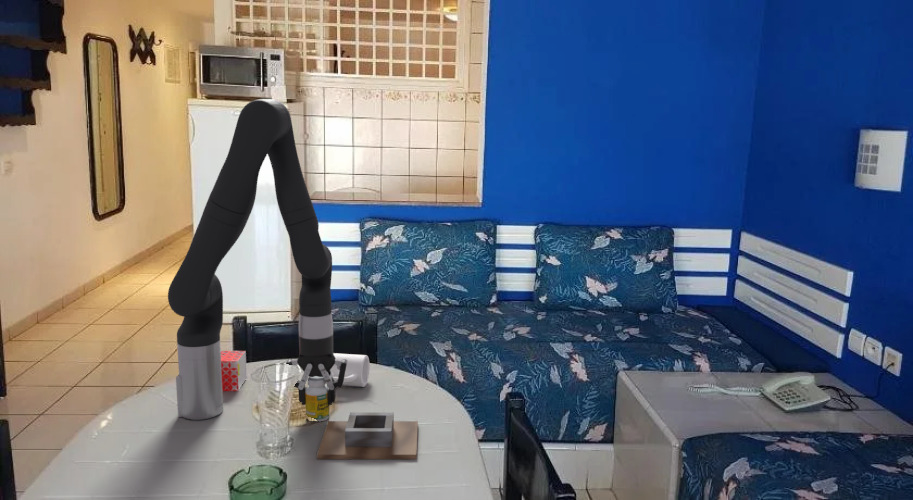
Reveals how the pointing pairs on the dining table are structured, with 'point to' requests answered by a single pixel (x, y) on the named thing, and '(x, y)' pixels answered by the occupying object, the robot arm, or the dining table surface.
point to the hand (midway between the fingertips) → (317, 403)
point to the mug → (353, 369)
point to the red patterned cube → (233, 369)
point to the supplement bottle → (317, 399)
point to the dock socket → (369, 438)
